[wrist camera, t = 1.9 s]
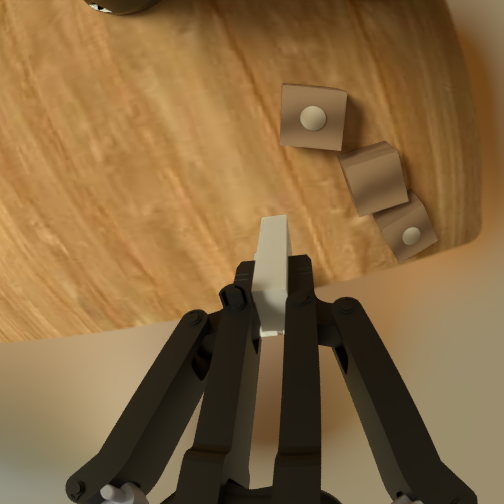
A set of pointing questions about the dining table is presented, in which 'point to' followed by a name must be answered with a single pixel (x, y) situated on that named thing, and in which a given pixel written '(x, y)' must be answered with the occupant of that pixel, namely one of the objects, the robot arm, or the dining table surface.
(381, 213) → the dotted walnut block
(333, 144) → the dotted walnut block
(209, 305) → the dining table surface
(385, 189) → the plain walnut block
